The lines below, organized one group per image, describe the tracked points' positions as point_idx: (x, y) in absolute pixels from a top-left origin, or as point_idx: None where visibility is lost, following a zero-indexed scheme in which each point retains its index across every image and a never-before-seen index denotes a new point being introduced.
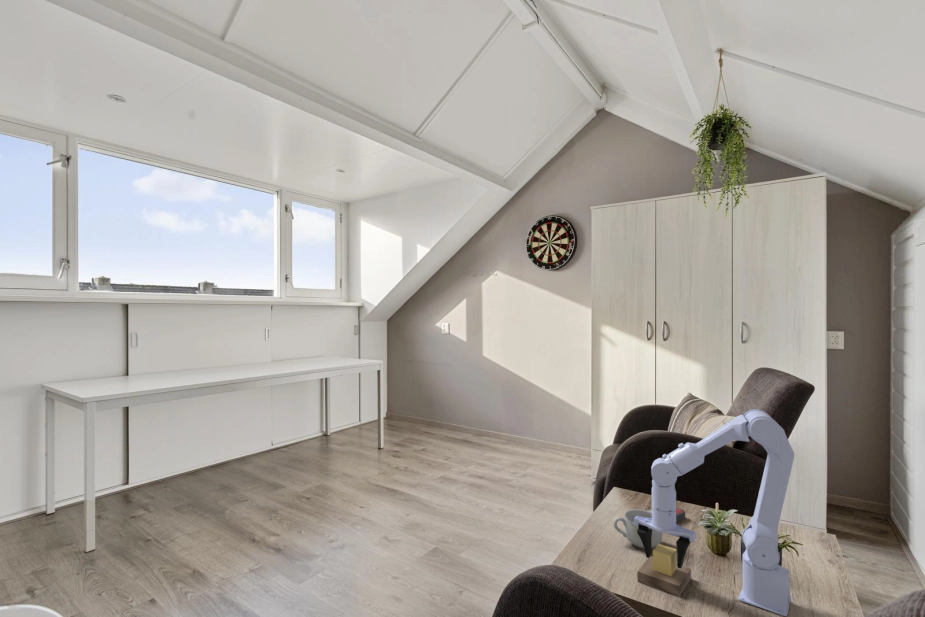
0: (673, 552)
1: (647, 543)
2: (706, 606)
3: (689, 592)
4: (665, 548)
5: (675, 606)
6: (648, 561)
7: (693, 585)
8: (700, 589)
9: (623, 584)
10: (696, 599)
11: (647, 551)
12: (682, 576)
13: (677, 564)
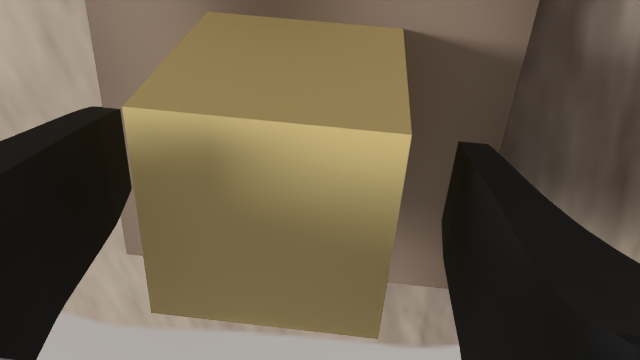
0: (389, 249)
1: (40, 319)
2: (636, 254)
3: (521, 149)
4: (261, 191)
5: (441, 333)
6: (113, 40)
7: (556, 21)
8: (616, 54)
9: (106, 277)
10: (571, 210)
11: (93, 255)
12: (475, 140)
13: (444, 255)
